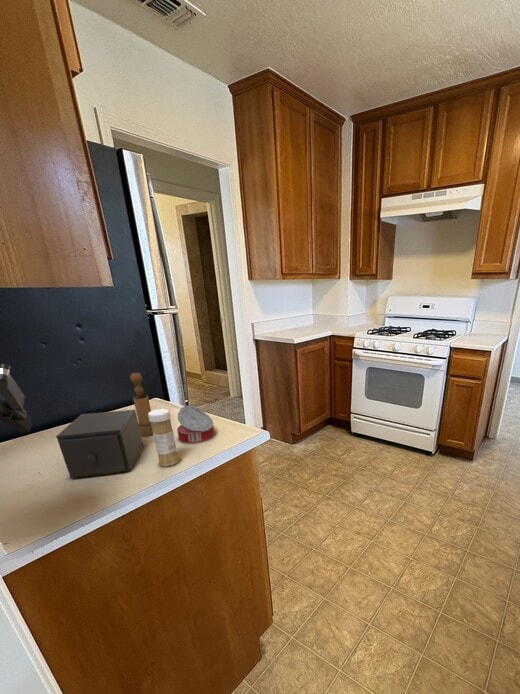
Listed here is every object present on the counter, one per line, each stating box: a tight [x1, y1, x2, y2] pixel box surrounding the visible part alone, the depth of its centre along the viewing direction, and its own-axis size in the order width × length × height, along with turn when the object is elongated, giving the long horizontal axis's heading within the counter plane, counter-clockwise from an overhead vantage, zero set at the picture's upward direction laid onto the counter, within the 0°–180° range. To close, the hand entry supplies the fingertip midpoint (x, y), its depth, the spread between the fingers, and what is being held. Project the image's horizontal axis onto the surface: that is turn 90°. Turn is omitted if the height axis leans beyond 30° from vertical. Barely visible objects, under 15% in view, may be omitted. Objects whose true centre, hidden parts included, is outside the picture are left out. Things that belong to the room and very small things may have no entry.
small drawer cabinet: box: [55, 409, 145, 479], centre depth 86 cm, size 15×13×11 cm
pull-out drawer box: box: [58, 433, 127, 477], centre depth 84 cm, size 15×11×9 cm
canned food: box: [176, 405, 216, 444], centre depth 101 cm, size 11×10×10 cm
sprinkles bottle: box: [148, 408, 180, 467], centre depth 84 cm, size 5×5×14 cm
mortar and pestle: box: [129, 372, 153, 438], centre depth 102 cm, size 7×6×18 cm
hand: (26, 425), depth 62 cm, fingers closed
